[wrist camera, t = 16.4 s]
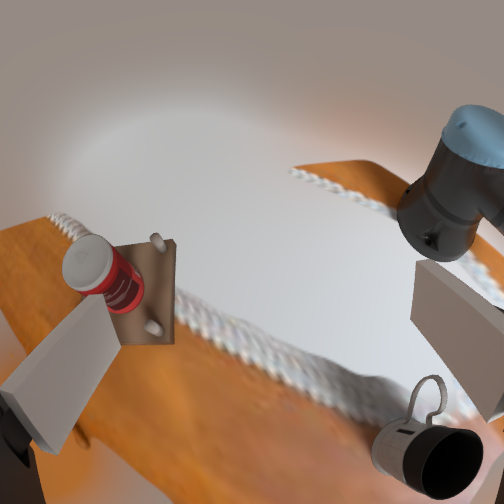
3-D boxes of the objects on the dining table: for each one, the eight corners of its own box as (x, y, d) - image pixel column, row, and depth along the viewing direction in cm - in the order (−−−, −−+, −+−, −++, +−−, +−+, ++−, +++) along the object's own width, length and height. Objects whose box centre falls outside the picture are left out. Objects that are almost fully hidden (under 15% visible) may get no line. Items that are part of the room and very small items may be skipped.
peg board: (176, 245, 48) (165, 227, 43) (174, 344, 41) (159, 336, 36) (94, 255, 49) (78, 240, 44) (84, 344, 42) (64, 336, 37)
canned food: (108, 267, 45) (71, 233, 36) (151, 269, 44) (117, 233, 35) (97, 312, 42) (54, 286, 32) (141, 318, 41) (101, 292, 31)
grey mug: (372, 482, 29) (413, 517, 16) (365, 388, 35) (408, 382, 22) (428, 465, 28) (486, 485, 15) (422, 375, 35) (481, 359, 22)
